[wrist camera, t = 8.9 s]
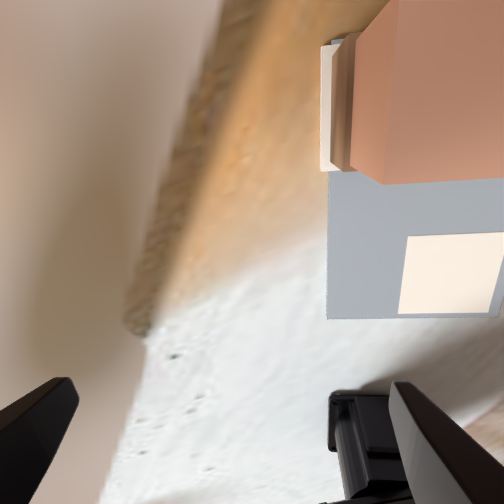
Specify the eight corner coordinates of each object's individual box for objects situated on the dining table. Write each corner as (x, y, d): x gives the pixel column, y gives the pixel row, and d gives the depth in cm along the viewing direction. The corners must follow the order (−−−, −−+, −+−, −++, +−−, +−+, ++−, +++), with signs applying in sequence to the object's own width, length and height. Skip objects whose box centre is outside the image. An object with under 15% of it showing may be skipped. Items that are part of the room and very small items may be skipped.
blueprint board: (493, 313, 20) (498, 317, 19) (319, 315, 21) (319, 319, 21) (579, 10, 13) (589, 6, 13) (320, 43, 15) (321, 41, 14)
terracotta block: (462, 157, 12) (556, 174, 8) (349, 165, 13) (382, 185, 8) (488, 24, 10) (625, -44, 6) (355, 40, 11) (400, -13, 7)
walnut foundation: (424, 154, 16) (467, 163, 12) (330, 161, 16) (343, 172, 13) (440, 43, 14) (497, 14, 10) (331, 57, 14) (348, 33, 11)
